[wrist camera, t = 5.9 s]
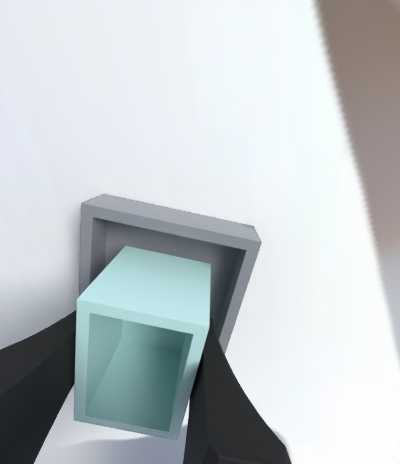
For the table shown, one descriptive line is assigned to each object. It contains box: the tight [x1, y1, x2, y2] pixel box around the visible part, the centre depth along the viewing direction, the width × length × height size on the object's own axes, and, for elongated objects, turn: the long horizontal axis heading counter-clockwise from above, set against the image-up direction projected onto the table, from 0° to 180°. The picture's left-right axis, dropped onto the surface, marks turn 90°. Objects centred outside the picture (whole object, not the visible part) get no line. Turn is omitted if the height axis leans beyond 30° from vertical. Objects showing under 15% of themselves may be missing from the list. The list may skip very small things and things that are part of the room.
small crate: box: [74, 246, 211, 440], centre depth 12 cm, size 5×7×5 cm
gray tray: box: [79, 194, 262, 354], centre depth 15 cm, size 9×11×2 cm
